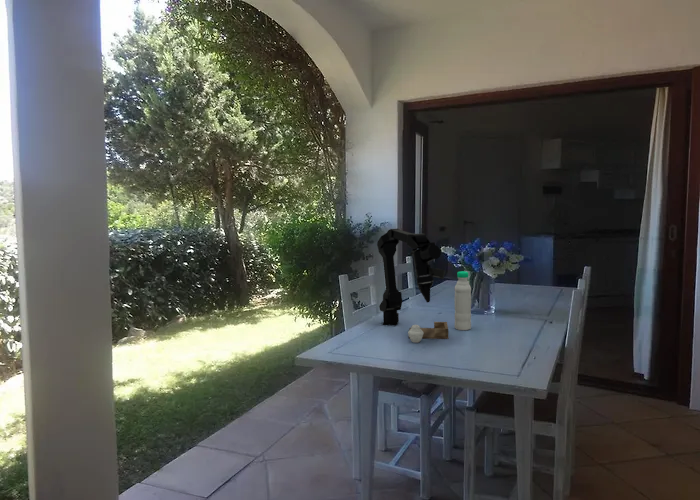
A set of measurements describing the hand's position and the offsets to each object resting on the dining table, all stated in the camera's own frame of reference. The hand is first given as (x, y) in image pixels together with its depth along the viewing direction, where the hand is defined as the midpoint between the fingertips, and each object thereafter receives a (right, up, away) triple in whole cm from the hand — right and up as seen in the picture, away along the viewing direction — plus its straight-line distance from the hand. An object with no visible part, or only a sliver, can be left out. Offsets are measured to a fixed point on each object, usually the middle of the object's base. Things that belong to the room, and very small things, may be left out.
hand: (428, 301), depth 197 cm
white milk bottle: (+18, -14, +17) cm, 28 cm away
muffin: (-5, -16, -1) cm, 17 cm away
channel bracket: (+1, -15, +9) cm, 17 cm away
